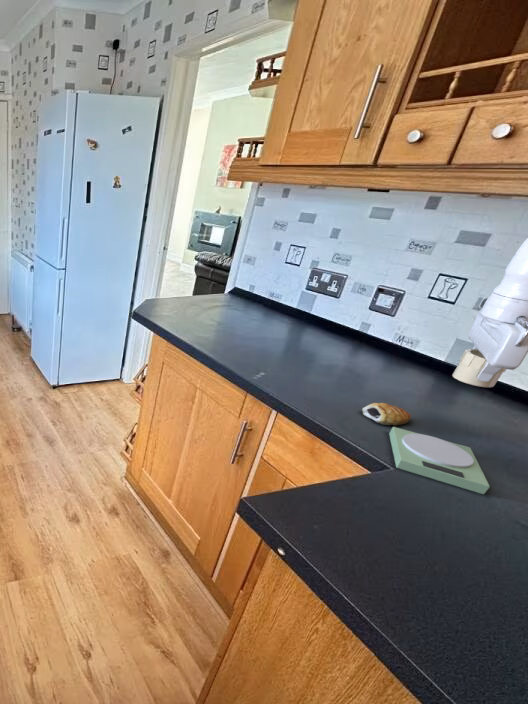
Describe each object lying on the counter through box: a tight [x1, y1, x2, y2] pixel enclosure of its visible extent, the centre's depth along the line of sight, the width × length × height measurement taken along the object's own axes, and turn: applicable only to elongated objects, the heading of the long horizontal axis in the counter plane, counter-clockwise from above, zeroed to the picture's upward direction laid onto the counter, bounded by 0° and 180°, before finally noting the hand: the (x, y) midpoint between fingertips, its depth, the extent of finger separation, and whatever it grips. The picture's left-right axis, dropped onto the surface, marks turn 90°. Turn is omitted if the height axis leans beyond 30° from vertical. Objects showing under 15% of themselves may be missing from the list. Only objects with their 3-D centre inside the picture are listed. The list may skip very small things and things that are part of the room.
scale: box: [388, 426, 491, 495], centre depth 86 cm, size 13×15×3 cm
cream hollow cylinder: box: [451, 348, 507, 388], centre depth 88 cm, size 7×7×6 cm
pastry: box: [361, 402, 412, 426], centre depth 100 cm, size 9×7×4 cm
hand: (476, 372), depth 89 cm, fingers closed on cream hollow cylinder, 7 cm apart
